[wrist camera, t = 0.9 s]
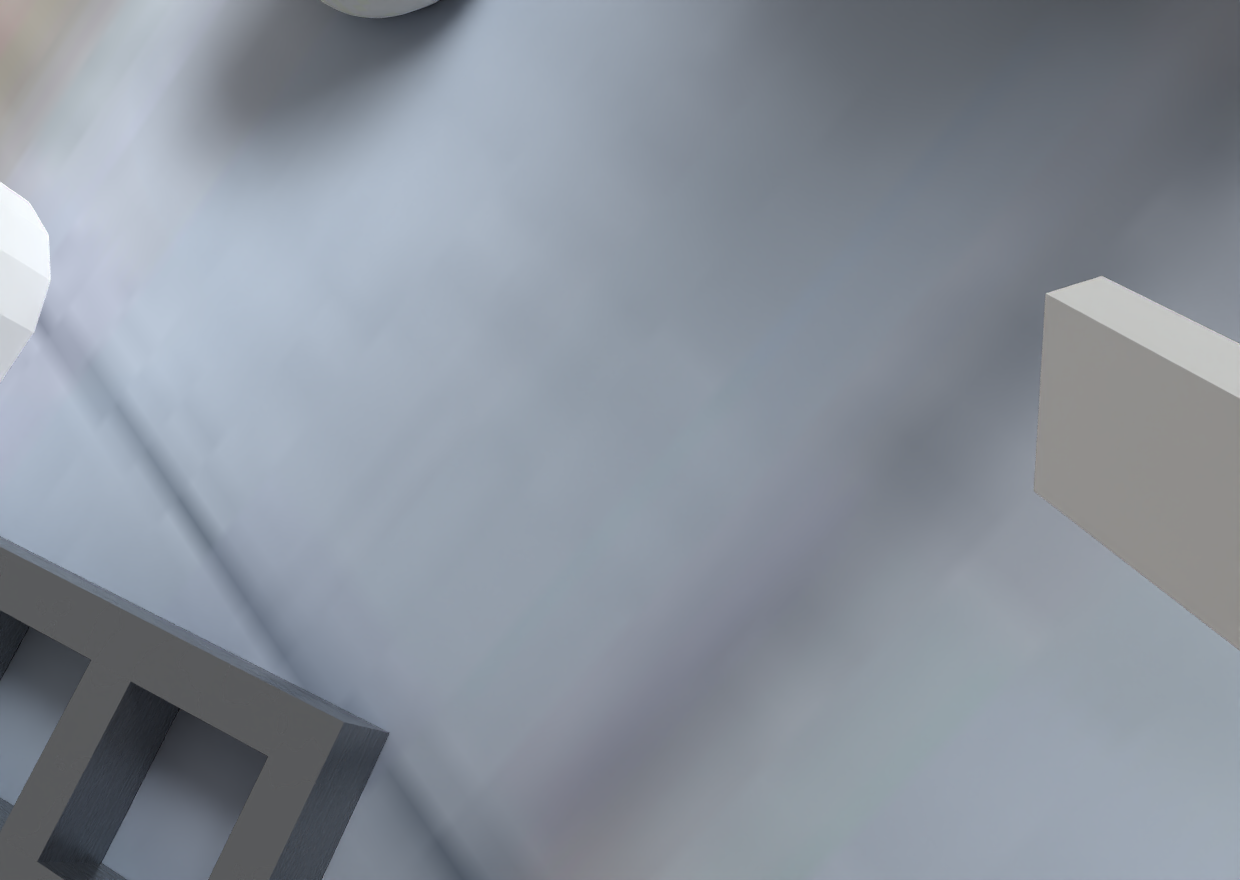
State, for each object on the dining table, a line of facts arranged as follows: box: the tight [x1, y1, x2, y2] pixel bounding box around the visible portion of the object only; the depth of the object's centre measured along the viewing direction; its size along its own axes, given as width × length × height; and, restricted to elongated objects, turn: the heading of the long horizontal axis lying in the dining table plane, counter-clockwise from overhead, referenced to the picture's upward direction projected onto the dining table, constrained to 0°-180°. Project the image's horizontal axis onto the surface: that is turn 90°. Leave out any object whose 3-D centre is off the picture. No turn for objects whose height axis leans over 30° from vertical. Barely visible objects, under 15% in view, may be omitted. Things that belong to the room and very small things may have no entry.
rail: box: [0, 537, 389, 880], centre depth 42 cm, size 10×27×3 cm, turn 65°
